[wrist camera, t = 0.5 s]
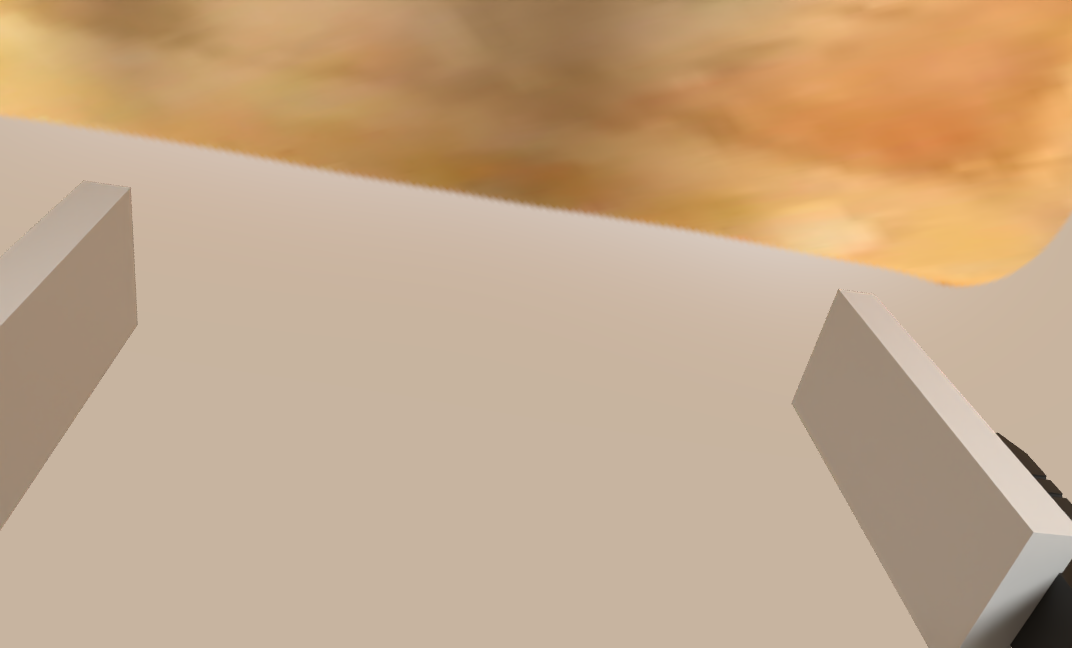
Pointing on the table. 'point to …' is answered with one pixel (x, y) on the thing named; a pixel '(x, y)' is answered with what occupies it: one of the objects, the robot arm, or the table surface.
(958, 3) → the table surface
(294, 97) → the table surface
